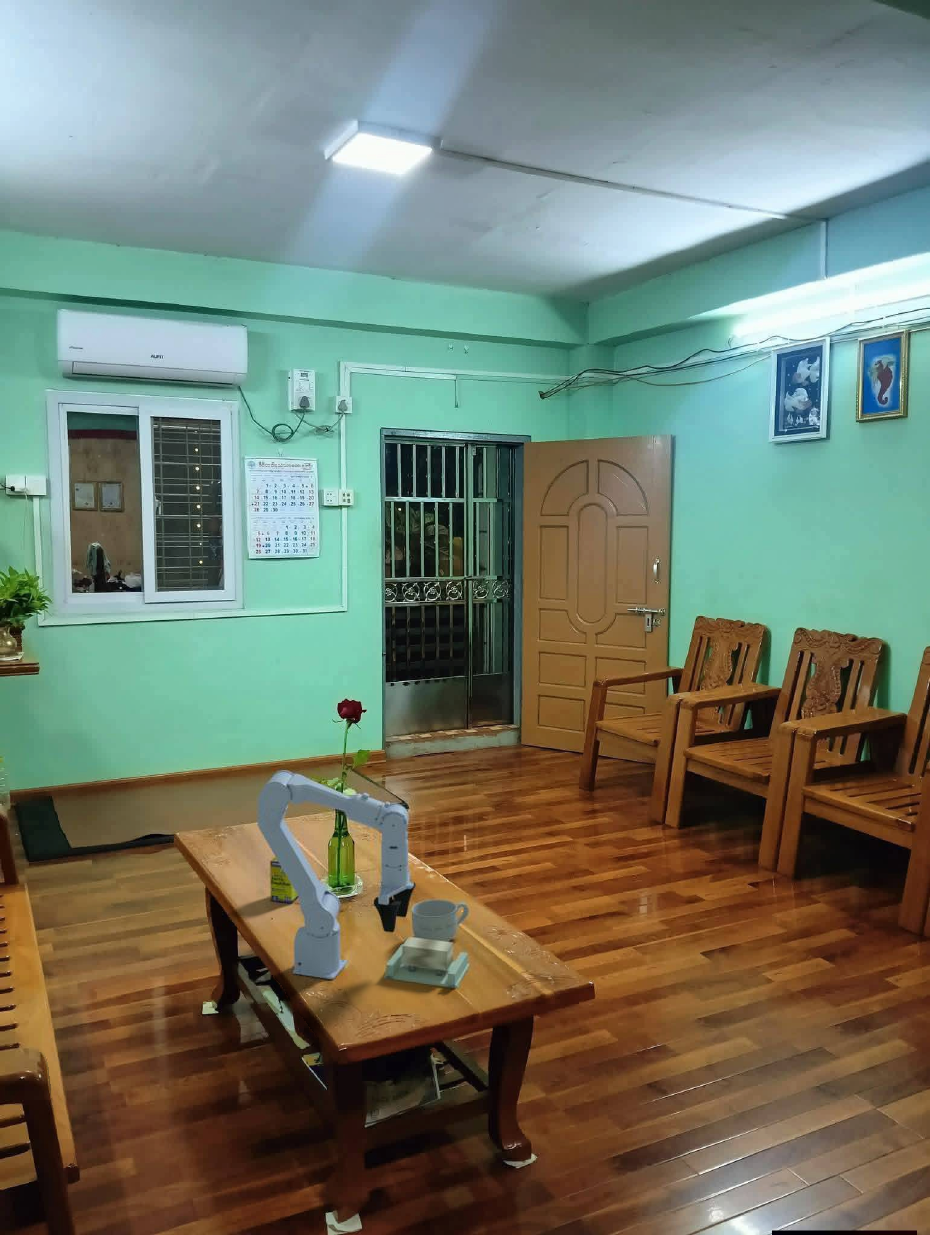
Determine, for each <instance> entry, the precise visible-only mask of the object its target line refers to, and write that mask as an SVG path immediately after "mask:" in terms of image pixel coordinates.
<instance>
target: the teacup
mask: <svg viewBox="0 0 930 1235" xmlns="http://www.w3.org/2000/svg"><path fill="white" fill-rule="evenodd" d="M460 908H463V913H462V914H461V915H460V916H459V917H458V911H459V909H460ZM469 910H470V909H469V907H468V905H467V903H465V902H462V901H460V902H457V903H454V902H453V901H450V900H447V899H427V900H422V901H419V902H417V903H414V904H413V905H412V906H411V908H410V913H411V926H412V932H413V935H414V937H415V938H422V939H430V940H437V941H445V942H450V941H451V939H453V938H454V937H455V936H456V934H457V931H458V927H459V925H460V924H461V923H462V922H464V921H465V919H466V918H467V916H469Z"/></svg>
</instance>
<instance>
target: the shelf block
mask: <svg viewBox="0 0 930 1235" xmlns="http://www.w3.org/2000/svg"><path fill="white" fill-rule="evenodd" d="M402 944H403V945H402ZM402 944H401V945H402V964H403V965H410V966H417V967H424V968H432V969H439V970H446V971H447V970H448V968H449V967H450V965H451V964H452V962H453V961H454V942H452V941H451V942H450V941H449V942H445V941H437V940H430V939H422V938H416V937H415V936H414V937H412V936H408V938H407V939H406V940H405V942H404V943H402Z"/></svg>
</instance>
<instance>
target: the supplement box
mask: <svg viewBox="0 0 930 1235" xmlns="http://www.w3.org/2000/svg"><path fill="white" fill-rule="evenodd" d="M269 864H270V865H269V870H270V871H269V872H270V876H269V877H270V901H271V902H272V901H276V903H284V904H290V903H291V904H290V905H293V903H294V902H295V901H296V900H297V899H299V896H298V894H297V893H296V891H295V889H294V887H293V886H292V884H291V882H290V881H289V879H288V877H287V875H286V874H285V872H284V870H283V869H282V867H281V865H280V863H279V862H278V860H277V858H276V857H275V856H273V858H271V859H270V860H269Z"/></svg>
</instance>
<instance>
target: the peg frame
mask: <svg viewBox="0 0 930 1235" xmlns="http://www.w3.org/2000/svg"><path fill="white" fill-rule="evenodd" d="M403 944H404V943H402V944H401V945H400V946H399V948H398V949H397V950H396V951H395V952H394V954H393V955H392V956H391V958H390V959H389V960H388V961H387V963H386V964H385V974H384V975H383V976H384V979H390V980H396V981H403V982H409V983H410V982H411V983H417V984H424V985H431V986H436V987H445V988H449V989H450V988H453V989H458V988H459V985H461V983H462V980H463V979H464V977H465V976H466V974H467V972H468V970H469V968H470V967H471V963H469V952H463V951H461V952H459V954H458V956H457V958H456V959H455V961H454V960H453V962H452V964H451V965H450V967H449V968H448V970H447V971H446V970H439V969H432V968H424V967H417V966H410V965H403V964H402V945H403Z"/></svg>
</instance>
